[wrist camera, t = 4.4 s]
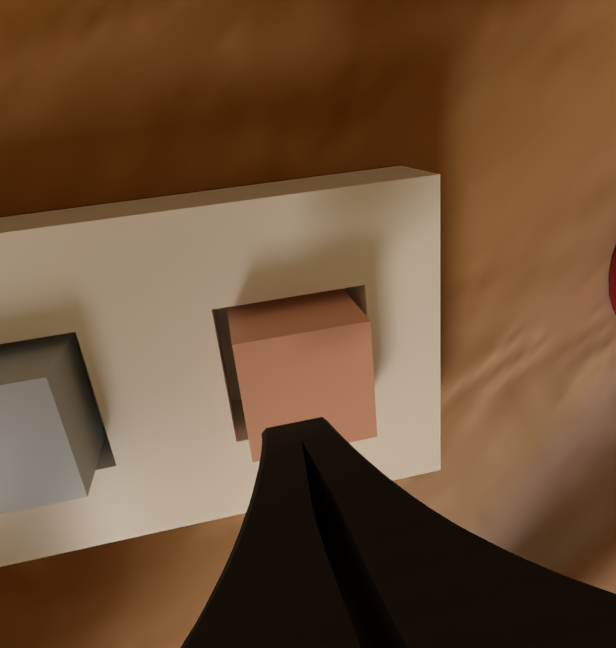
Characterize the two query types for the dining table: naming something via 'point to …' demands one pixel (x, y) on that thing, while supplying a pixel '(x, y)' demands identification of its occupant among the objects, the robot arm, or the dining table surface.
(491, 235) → the dining table surface
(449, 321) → the dining table surface
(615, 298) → the canned food
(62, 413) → the slate button
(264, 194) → the button panel
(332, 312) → the terracotta button
